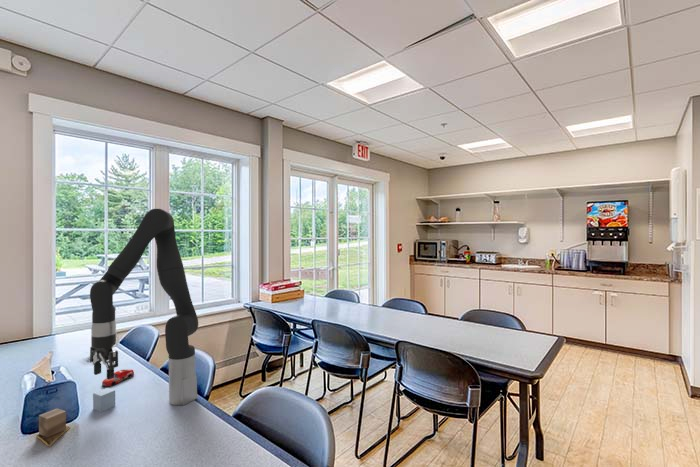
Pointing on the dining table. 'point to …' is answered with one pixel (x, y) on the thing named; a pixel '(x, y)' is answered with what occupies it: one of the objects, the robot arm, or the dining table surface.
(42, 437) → the shard
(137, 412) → the dining table surface
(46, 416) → the walnut block
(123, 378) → the race car
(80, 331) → the dining table surface
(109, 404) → the slate block
